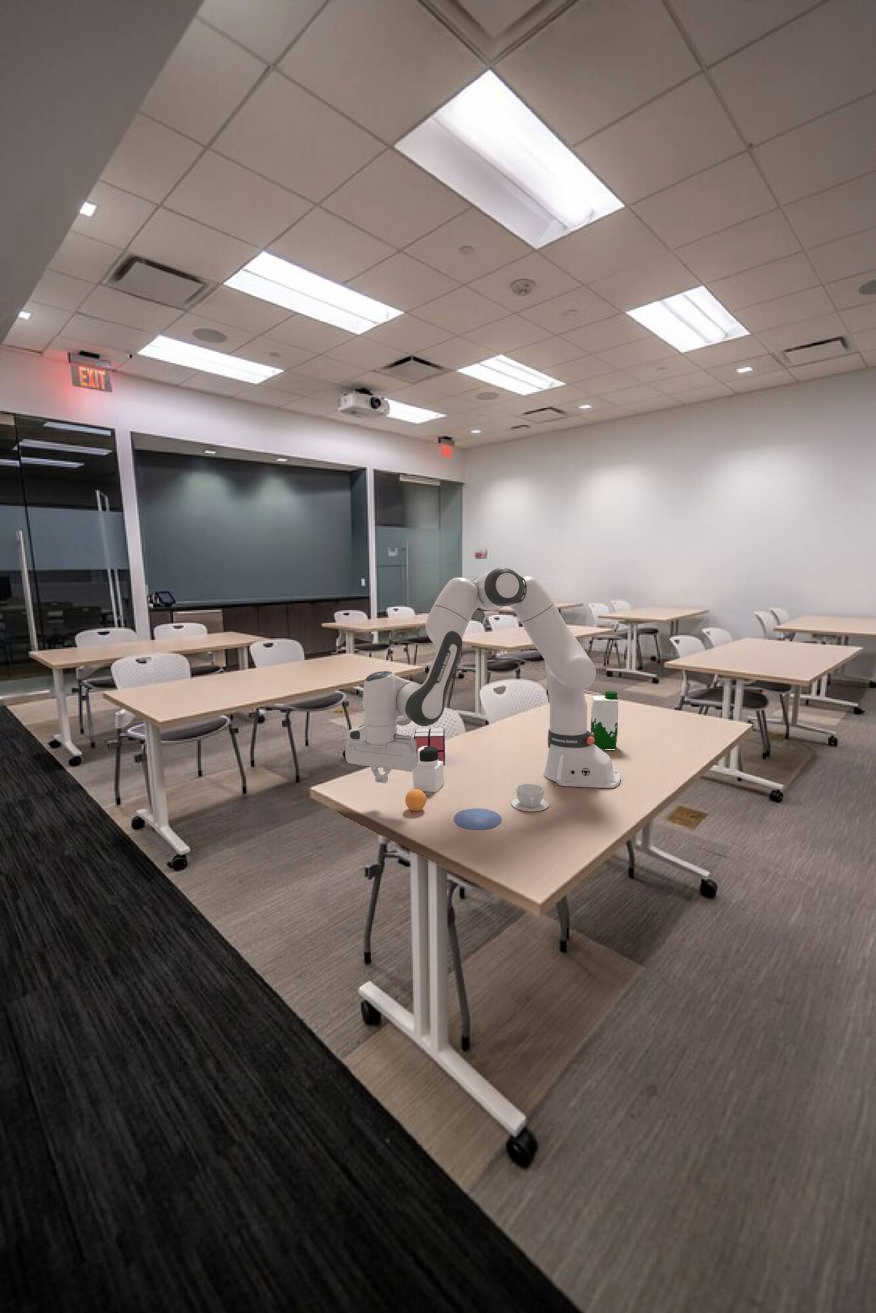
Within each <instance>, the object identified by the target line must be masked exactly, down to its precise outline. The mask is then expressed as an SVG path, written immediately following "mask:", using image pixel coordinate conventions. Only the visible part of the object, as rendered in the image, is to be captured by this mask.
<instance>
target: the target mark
mask: <svg viewBox="0 0 876 1313" xmlns="http://www.w3.org/2000/svg"><path fill="white" fill-rule="evenodd" d="M453 822H454V823H455V824H456V825H458V826H459V827H461V828H463V829H467V830H471V831H472V830H474V831H481V830H482V831H483V830H489V829H494V828H496V827H497V826H499V825H500V824H501V823H502V816H501V815H500V814H499V813H498V812H496V811H493V810H491V809H486V808H468V809H464V810H461V811H459V812H457V813H456V814H455V815H454V817H453Z"/></svg>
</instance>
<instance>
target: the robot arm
mask: <svg viewBox="0 0 876 1313" xmlns="http://www.w3.org/2000/svg"><path fill="white" fill-rule="evenodd" d="M504 607H509V608H511V609H512V610H513V612H514V613H515V614H516V616H517V619H518V620H519V623H521V625H522V628H524V630H525V633H526V634H527V635H528V636H527V637H529V639H530V641H531V642H532V644H533V646H534V647H535V648H536V649H537V651H538V653H540V655H541V657H542V658H543V659H544V665H545V674H546V675H545V676H546V686H547V693H548V694H547V695H548V703H549V729H548V730H547V747H548V754H547V760H546V764H545V768H544V771H543V776H544V777H545V778H546V779H548V780H550V781H552V782H555V783H556V784H558V785H559V786H562V787H578V788H579V787H580V788H598V789H600V788H601V789H603V788H604V789H613V788H616V787H617V786H619V785H620V783H621V781H620V780H621V774H620V773H619V771H618V770H616V769H614V766H613V762H612V759H611V757H610V755H609V754H607V753H606V752H605V750H601V749H600V748H598V747H597V746H596V745H595V744H593V743H594V735H593V732H592V733H591V731H589V730H588V703H587V700H586V696H585V690H586V689H588V688H589V687H590V686H592V685H593V683H594V681H595V680H596V675H597V670H596V666H595V664H594V662H593V661H592V660H591V658H590V657H589V655H588V653H587V652H586V651H585V649H584V648H583V645H581V644H580V642H579V641H578V639H577V637H576V636H575V635H574V633H573V632H572V631H571V630H570V628H569V626H568V625H567V624H566V622H565V620H564V618H563V617H562V615H561V613H560V612H559V611H560V610H558V608H557V605H556V604H555V602H554V601H553V599H552V598H551V596H550V594H549V593H548V591H547V590H546V588H545V587H544V586H543V585H542V584H541V583H540V582H539V580H537V578H536V577H533V576H531V575H529V576H521V575H519V573H517V572H516V571H514V570H513V569H512V568H507V567H497V568H495V569H491V570H488V571H485V572H483V573H482V574H481V575H480V576H478V577H475V578H474V579H472V580H469V579H468V578H465V577H454V578H451V579H450V580H449V581H448V582H447V583H446V584H445V586H444V587H443V589H442V590H441V592H440V593H439V595H438V596H437V598H436V600H435V601H434V603H433V605H432V607H431V609H430V612H429V614H428V616H427V619H426V623H425V631H426V632H425V633H426V634H427V636H428V638H429V640H430V641H431V642H432V644H433V646H434V649H435V653H434V658H433V661H432V662H431V665H430V668H429V670H428V673H427V677H426V678H425V681H423V683H421V684H420V683H419V682H415V681H412V680H408V679H405V678H402V677H400V676H398V675H395V674H394V673H393V672H392V671H389V670H383V671H376V672H373V673H370V674H369V675H368V676H367V677H366V678H365V679H364V683H363V690H362V707H363V711H364V717H363V724H361V725H358V726H355V727H353V728H351V729H350V730H348V731H347V733H346V737H347V741H346V742H345V750H344V751H345V754H344V755H345V760H346V762H347V763H348V764H351V765H359V766H366V767H370V768H371V769H370V770H371V772H372V774H373V775H374V777H375V778H374V779H375V783H380V784H387V783H388V781H389V780H388V779H389V776H390V773H391V772H392V770H396V771H404V772H413V769H415V768H416V766H417V753H416V741H415V739H414V737H412V736H411V735H409V734H408V735H407V734H406V735H403V734H398V717H402V716H403V717H404V718H407V719H409V720H410V721H412V722H413V723H414V724H416V725H417V726H419V727H420V726H421V727H430V726H431V725H433V724H435V723H437V722H439V720H440V719H441V717H443V714H444V711H445V707H446V702H447V701H446V700H447V694H448V690H449V686H450V684H451V681H452V679H453V676H454V674H455V671H456V668H457V664H458V662H459V659H460V656H461V652H462V651H463V650H462V648H463V638H464V635H465V633H466V630H467V627H468V625H469V623H470V620H471V619H472V617H473V615H474V613H475V612H476V610H477V611H481V612H490V611H497V610H500V609H503V608H504ZM380 768H382V769H383V770H382V771H383V772H384V774H381V772H380V770H379V769H380Z"/></svg>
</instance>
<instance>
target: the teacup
mask: <svg viewBox="0 0 876 1313" xmlns="http://www.w3.org/2000/svg"><path fill="white" fill-rule="evenodd" d="M515 791H516V792H515V793H516V798H514V799H512V800H511V802H510V803H511V806H512V807H513V808H514V809H516V810H519V811H524V812H540V811H543V810H547V808H548V807H549V805H550V804H549V802H548V801H547V800H546V799H544V792H545V788H544V787H543V786H542V785H540V784H536V783H522V784H519V785H516V787H515Z"/></svg>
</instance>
